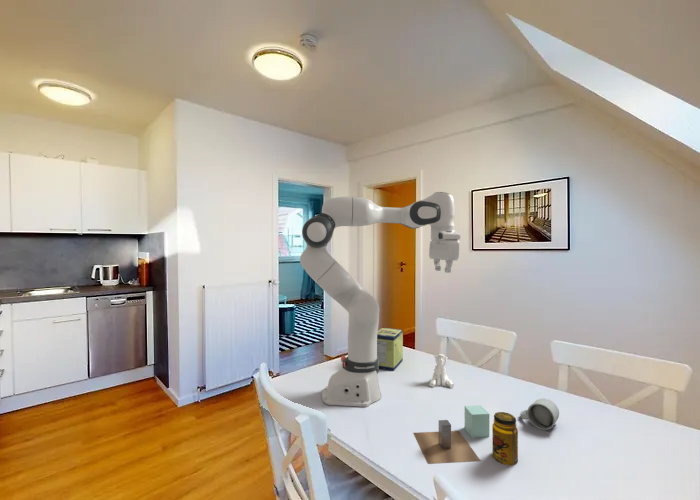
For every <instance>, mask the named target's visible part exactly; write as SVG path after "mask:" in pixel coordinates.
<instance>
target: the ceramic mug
mask: <svg viewBox="0 0 700 500" xmlns="http://www.w3.org/2000/svg"><path fill="white" fill-rule="evenodd" d="M559 410H560V409H559V408H558V406H557V404H556V403H555V402H554V401H552V400H551V399H549V398H539V399H536V400H535V401H534V402H533V403H532V404H530V405H529V406H528V408H527V409H524V410H522V411H520V413H519V416H520V418H521V419H522V420H529V423H531V425H533V426H534V427H536V428H537V429H539V430H543V431H548V430H550V429H553V427H554V426H555V424H557V421H558V420H559V417H560V411H559Z"/></svg>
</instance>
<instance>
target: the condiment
mask: <svg viewBox="0 0 700 500" xmlns="http://www.w3.org/2000/svg"><path fill="white" fill-rule="evenodd" d="M491 426H492V429H491V430H492V447H491V448H492V457H493V459H494V460H495V461H496V462H498V463H500V464H502V465H505V466H515V465H517V464H518V462H519V445H518V444H519V443H518V442H519V440H518V439H519V437H518V436H519V431H518V427H517V419H516V417H515V416H514V415H513V414H511V413H509V412H504V411H498V412H495V413H494V415H493V423H492V425H491Z"/></svg>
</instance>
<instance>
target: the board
mask: <svg viewBox="0 0 700 500" xmlns="http://www.w3.org/2000/svg"><path fill="white" fill-rule="evenodd" d="M413 435H414V438H415V439H416V442H417V444H418V446H419V448H420V450H421V452H422V454H423V456H424V459H425V461H426V463H427V464H428V465H432V464H434V465H435V464H450V463H454V464H455V463H470V462H473V463H475V462H481V461H482V460H481V459H480V458H479V456H478V455H477V454H476V452H475V451H474V449H473V448H472V447H471V445H470V444H469V442H468V441H467V439H466V438H465V437H464V436H463V434H462V433H461V432H460V430H451V449H442V448H441V447H440V445H439V431H424V432H421V431H419V432H413Z"/></svg>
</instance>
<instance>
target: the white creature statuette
mask: <svg viewBox="0 0 700 500" xmlns="http://www.w3.org/2000/svg"><path fill="white" fill-rule="evenodd" d="M433 357H434V358H435V359H434V360H435V363H436V365H435V367H434V369H433V370H434V372H433V374H432V378H431V379H430V381H429V384H428V385H429V386H430V387H431V388H434V387H447V388H450V389H453V388H454V387H455V385H454V383H453V381H452V380H451V379H450V378H449V377H448V374H447V368H446V367H445V366H446V364H447V363H448V362H447V361H448V358H449V357H448V356H445V355H444V354H443V353H440V354H437V355H436V354H433Z"/></svg>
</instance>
